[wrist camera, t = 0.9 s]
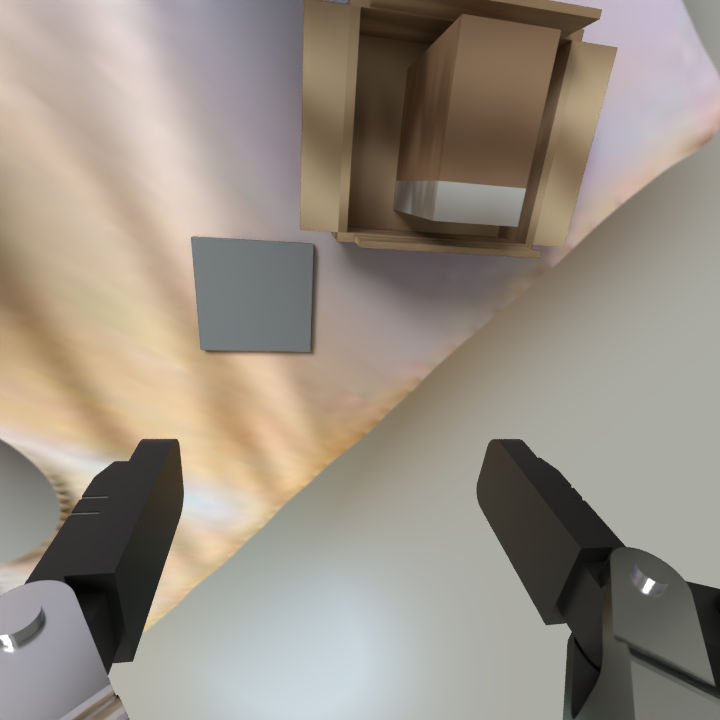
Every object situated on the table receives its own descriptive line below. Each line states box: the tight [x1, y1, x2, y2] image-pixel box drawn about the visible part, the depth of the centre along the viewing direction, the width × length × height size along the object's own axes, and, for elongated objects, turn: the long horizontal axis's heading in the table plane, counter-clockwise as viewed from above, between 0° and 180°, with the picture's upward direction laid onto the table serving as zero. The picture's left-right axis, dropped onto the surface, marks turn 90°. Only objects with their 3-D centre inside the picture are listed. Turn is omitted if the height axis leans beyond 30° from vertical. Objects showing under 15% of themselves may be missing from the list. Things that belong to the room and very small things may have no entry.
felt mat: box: [191, 236, 313, 352], centre depth 32 cm, size 9×9×1 cm
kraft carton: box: [300, 0, 617, 258], centre depth 27 cm, size 13×19×8 cm
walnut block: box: [393, 14, 561, 227], centre depth 25 cm, size 9×5×10 cm, turn 176°
